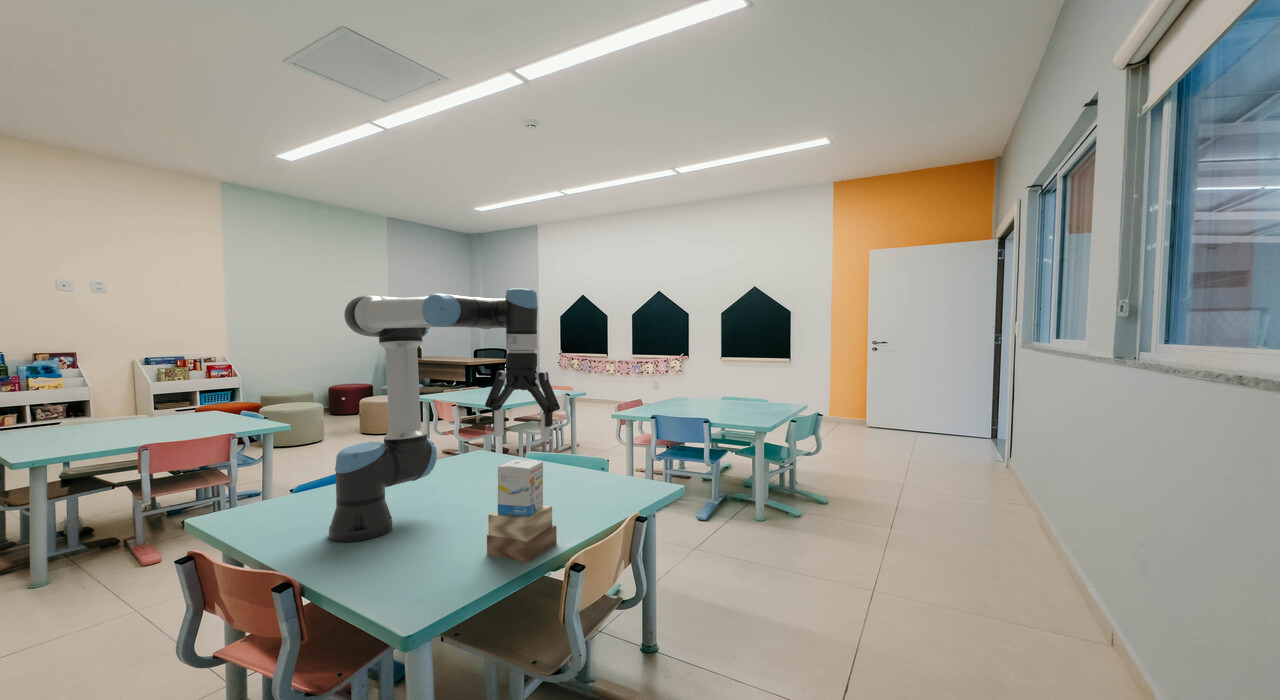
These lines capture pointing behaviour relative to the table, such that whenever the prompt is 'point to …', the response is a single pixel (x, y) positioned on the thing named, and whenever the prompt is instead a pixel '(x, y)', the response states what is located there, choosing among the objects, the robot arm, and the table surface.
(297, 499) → the table surface
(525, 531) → the tower top
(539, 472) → the ink box
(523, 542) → the tower base
